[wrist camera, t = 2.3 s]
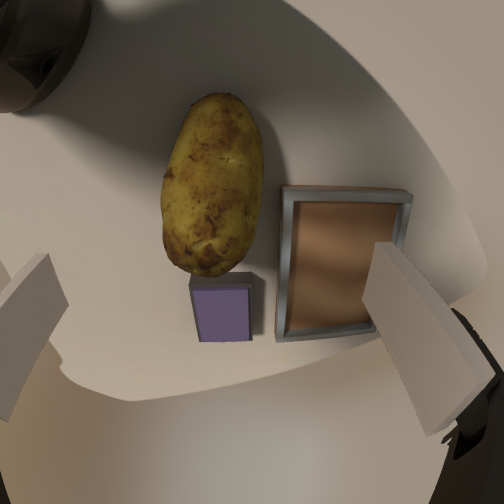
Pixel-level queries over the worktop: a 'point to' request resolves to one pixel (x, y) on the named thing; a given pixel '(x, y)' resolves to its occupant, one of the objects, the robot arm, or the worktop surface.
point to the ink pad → (222, 307)
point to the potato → (213, 187)
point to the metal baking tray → (331, 256)
